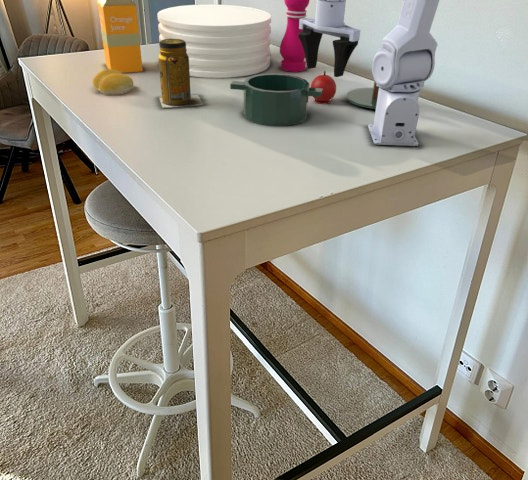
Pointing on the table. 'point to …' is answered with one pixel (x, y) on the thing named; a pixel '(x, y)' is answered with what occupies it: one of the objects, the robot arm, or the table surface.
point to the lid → (364, 96)
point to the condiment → (175, 75)
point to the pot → (276, 98)
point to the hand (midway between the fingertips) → (324, 72)
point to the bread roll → (112, 82)
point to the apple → (324, 88)
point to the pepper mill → (293, 37)
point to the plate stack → (220, 38)
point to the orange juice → (120, 35)
